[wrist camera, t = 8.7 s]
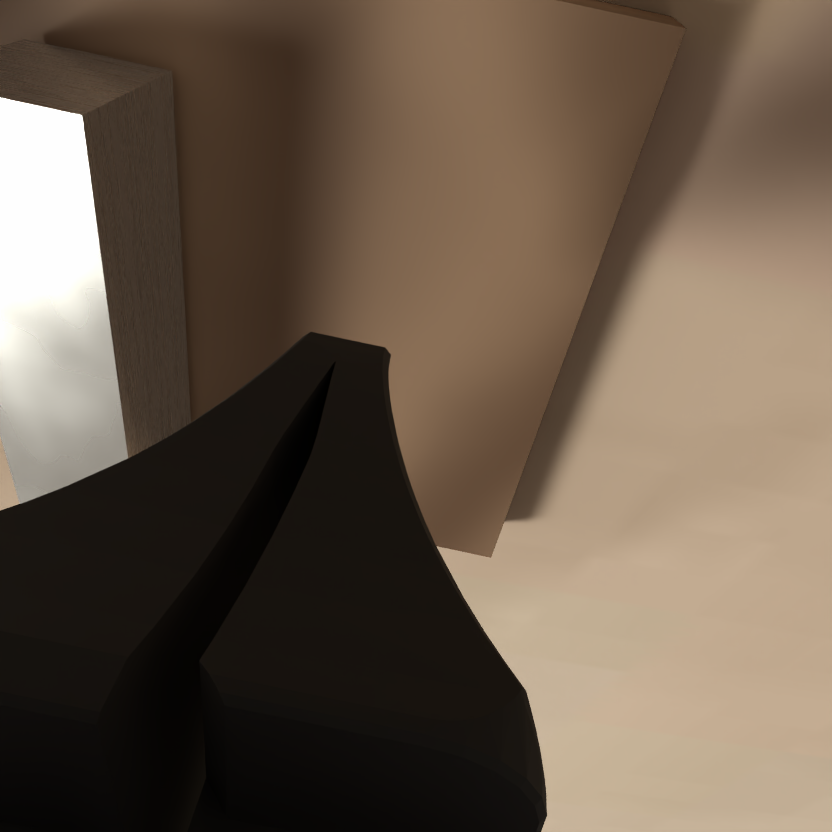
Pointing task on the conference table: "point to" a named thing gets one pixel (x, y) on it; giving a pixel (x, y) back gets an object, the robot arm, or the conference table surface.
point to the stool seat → (395, 198)
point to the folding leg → (87, 264)
